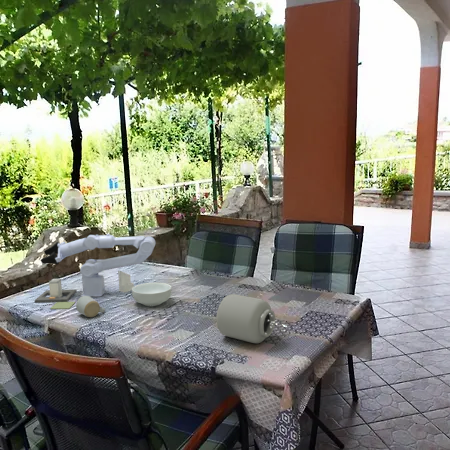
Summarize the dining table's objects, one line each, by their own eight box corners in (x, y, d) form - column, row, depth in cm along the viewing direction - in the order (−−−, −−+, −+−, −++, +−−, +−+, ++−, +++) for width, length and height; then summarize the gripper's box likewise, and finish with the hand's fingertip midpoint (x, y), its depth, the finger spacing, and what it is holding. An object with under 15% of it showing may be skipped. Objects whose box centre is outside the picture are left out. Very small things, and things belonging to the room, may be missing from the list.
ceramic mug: (85, 320, 180) (84, 302, 179) (76, 315, 186) (75, 297, 184) (108, 313, 187) (108, 296, 186) (99, 309, 192) (98, 292, 191)
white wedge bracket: (111, 288, 211) (118, 270, 214) (126, 294, 219) (132, 276, 222) (117, 290, 209) (123, 271, 212) (132, 295, 217) (137, 277, 220)
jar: (249, 309, 174) (305, 316, 157) (236, 346, 168) (292, 357, 150) (219, 286, 163) (275, 290, 146) (203, 324, 157) (260, 333, 139)
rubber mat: (75, 302, 201) (75, 301, 201) (69, 308, 193) (69, 308, 193) (56, 302, 201) (56, 302, 201) (50, 309, 193) (50, 308, 193)
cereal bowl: (180, 302, 198) (179, 286, 197) (149, 313, 186) (148, 296, 185) (155, 294, 210) (154, 279, 209) (124, 304, 198) (123, 288, 197)
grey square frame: (76, 292, 216) (76, 288, 215) (66, 302, 202) (66, 298, 201) (46, 292, 215) (46, 289, 215) (34, 302, 202) (34, 299, 201)
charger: (62, 295, 211) (60, 278, 210) (58, 299, 206) (57, 281, 205) (54, 295, 211) (52, 278, 210) (50, 299, 206) (48, 281, 205)
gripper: (70, 233, 212) (42, 242, 212) (65, 248, 199) (35, 258, 199) (77, 245, 215) (49, 254, 215) (72, 262, 203) (43, 271, 203)
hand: (43, 257), depth 208 cm, fingers open, 7 cm apart
